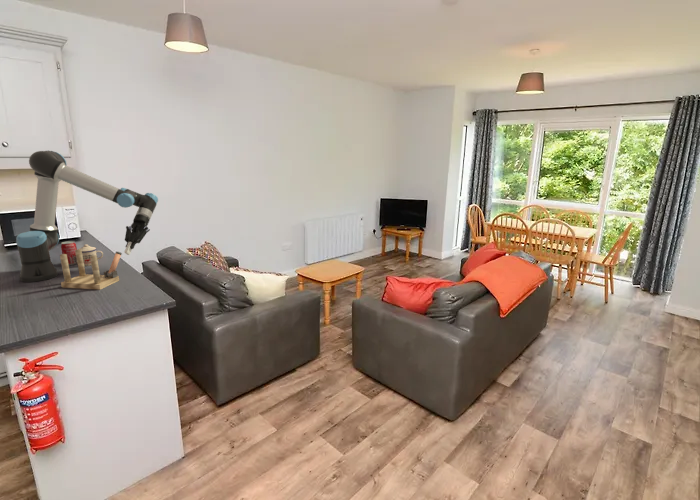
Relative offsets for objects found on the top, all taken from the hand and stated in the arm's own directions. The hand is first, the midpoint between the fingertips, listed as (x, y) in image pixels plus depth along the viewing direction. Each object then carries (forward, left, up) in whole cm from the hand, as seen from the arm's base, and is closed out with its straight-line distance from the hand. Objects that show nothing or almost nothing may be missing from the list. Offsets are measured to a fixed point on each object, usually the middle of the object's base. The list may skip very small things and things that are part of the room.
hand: (126, 253), depth 199 cm
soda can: (-44, +11, -11) cm, 46 cm away
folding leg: (0, -14, -8) cm, 16 cm away
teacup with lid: (-33, +13, -11) cm, 37 cm away
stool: (-8, -18, -11) cm, 23 cm away
